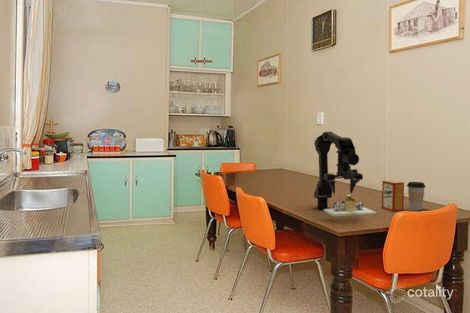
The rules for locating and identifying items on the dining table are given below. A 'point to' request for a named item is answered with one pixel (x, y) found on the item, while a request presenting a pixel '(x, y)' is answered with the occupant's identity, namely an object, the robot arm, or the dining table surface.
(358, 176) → the robot arm
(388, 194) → the baking soda box
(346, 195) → the lever
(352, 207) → the valve
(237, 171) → the dining table surface
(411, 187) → the coffee cup
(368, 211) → the board
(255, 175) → the dining table surface
